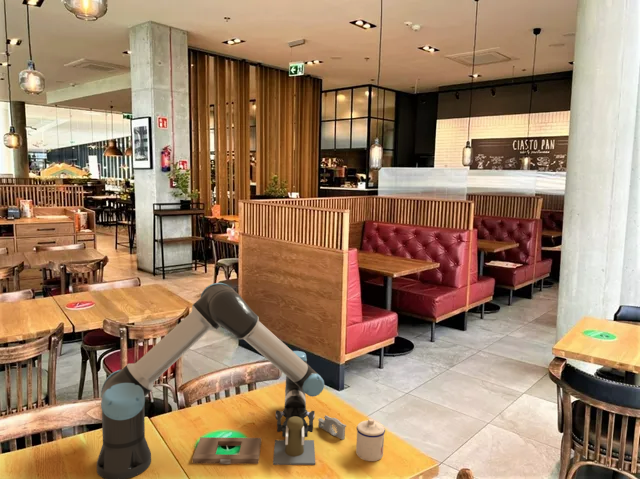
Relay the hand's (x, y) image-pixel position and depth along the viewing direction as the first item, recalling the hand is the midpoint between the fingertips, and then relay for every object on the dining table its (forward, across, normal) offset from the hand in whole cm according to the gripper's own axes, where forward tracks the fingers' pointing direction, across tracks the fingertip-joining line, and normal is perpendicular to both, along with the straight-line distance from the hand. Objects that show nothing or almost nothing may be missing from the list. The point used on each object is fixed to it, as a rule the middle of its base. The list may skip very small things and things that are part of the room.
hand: (294, 440), depth 147 cm
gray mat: (-5, 0, -7) cm, 9 cm away
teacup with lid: (-6, -24, -7) cm, 26 cm away
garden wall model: (-18, -13, -8) cm, 23 cm away
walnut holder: (-5, +21, -7) cm, 23 cm away
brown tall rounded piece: (-5, 0, -7) cm, 9 cm away
